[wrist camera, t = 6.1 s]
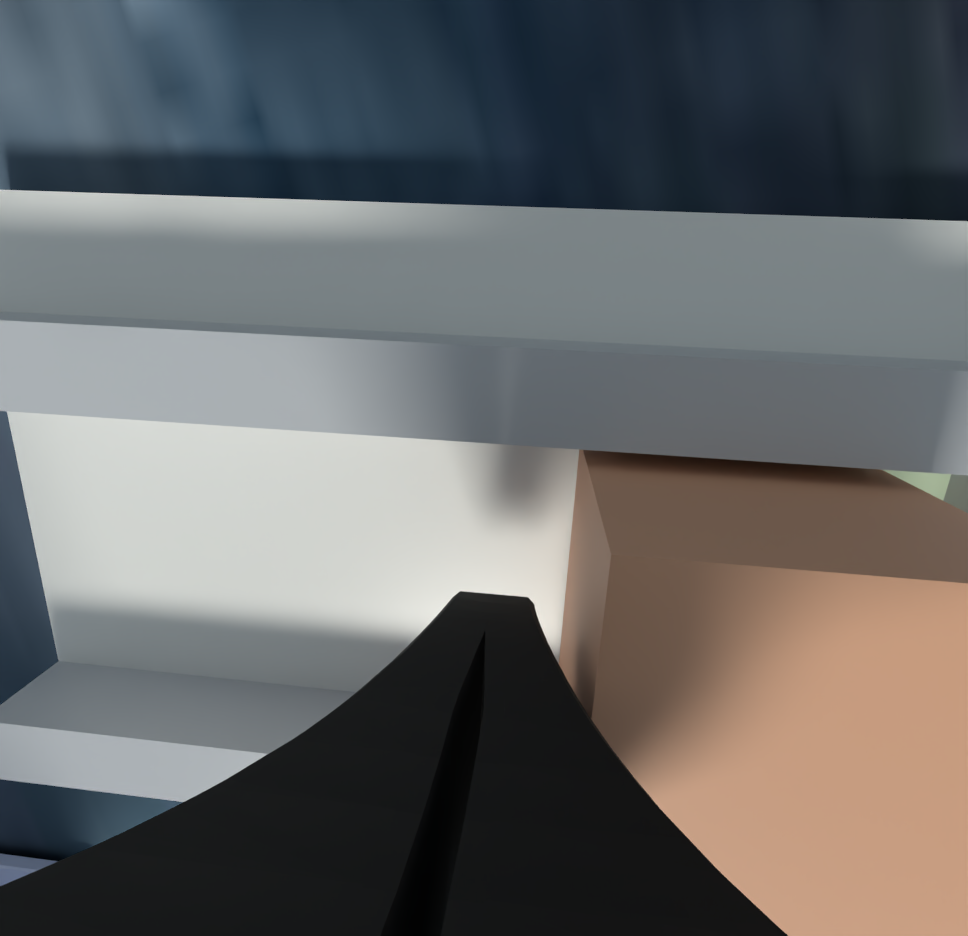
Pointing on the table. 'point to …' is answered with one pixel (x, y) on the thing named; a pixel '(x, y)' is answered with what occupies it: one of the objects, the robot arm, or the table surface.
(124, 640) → the chute
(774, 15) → the table surface
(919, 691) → the block
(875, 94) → the table surface
